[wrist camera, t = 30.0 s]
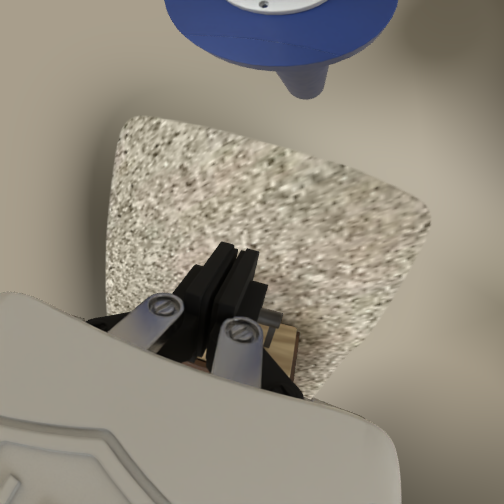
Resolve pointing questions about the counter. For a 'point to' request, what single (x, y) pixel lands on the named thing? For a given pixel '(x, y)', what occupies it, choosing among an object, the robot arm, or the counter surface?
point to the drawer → (275, 339)
